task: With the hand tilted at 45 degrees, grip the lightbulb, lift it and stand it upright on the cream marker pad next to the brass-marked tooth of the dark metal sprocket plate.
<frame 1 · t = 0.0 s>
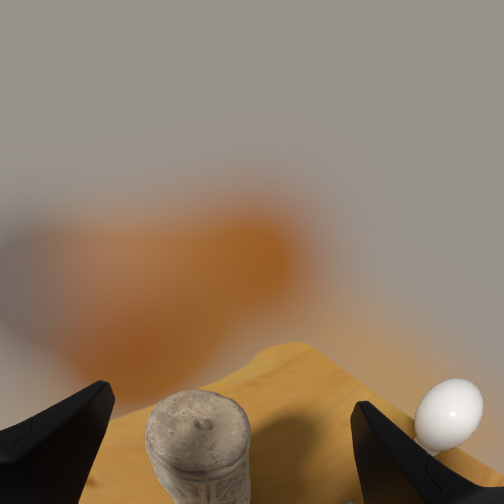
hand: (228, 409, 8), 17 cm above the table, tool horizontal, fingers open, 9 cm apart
carving: (212, 498, 16), on the table
lightbulb: (411, 464, 17), on the table
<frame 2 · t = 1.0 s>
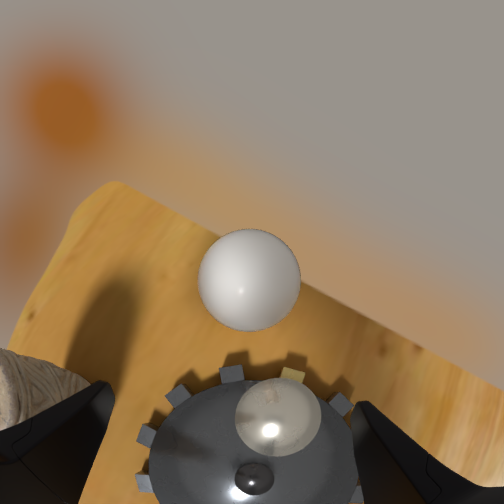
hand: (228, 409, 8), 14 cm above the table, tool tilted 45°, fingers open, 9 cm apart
carving: (80, 404, 19), on the table
sprocket plate: (254, 473, 17), on the table
lightbulb: (250, 316, 24), on the table
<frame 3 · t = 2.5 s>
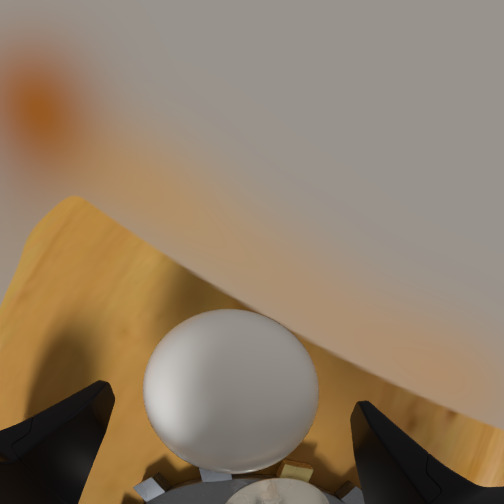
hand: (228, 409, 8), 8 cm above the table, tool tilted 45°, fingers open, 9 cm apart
lightbulb: (240, 392, 16), on the table
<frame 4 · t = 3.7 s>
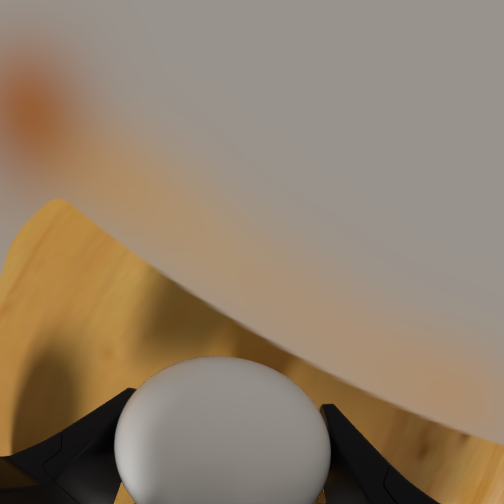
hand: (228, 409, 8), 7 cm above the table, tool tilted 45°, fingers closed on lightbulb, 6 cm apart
lightbulb: (236, 423, 14), on the table, touching gripper
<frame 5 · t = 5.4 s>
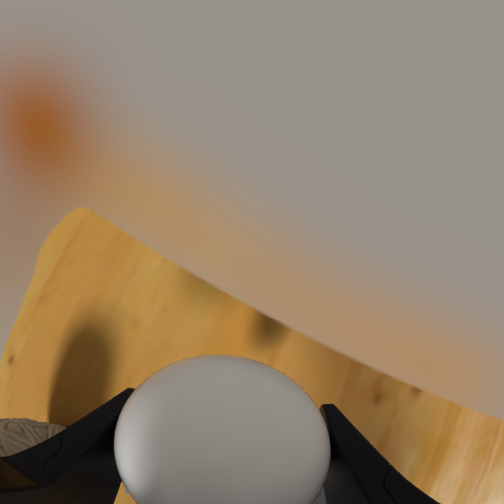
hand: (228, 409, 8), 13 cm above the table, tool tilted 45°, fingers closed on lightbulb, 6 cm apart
carving: (68, 452, 16), on the table
lightbulb: (236, 422, 14), point 6 cm above the table, touching gripper
when the fingers open (9 cm above the table, at t = 7.2 s): lightbulb stays where it is, resting on sprocket plate.
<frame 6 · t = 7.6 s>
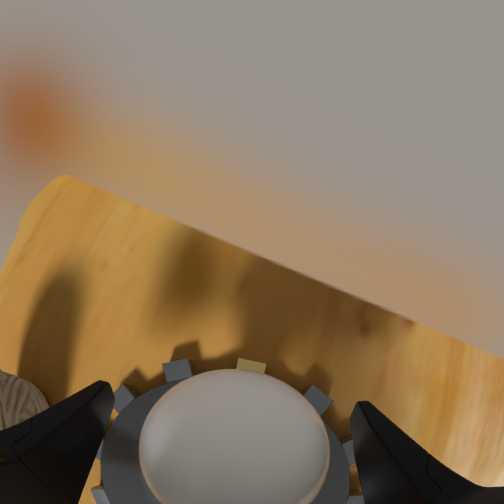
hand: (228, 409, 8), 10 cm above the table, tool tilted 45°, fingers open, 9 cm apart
carving: (35, 413, 15), on the table
sprocket plate: (221, 487, 13), on the table
lightbulb: (238, 425, 14), point 2 cm above the table, touching sprocket plate
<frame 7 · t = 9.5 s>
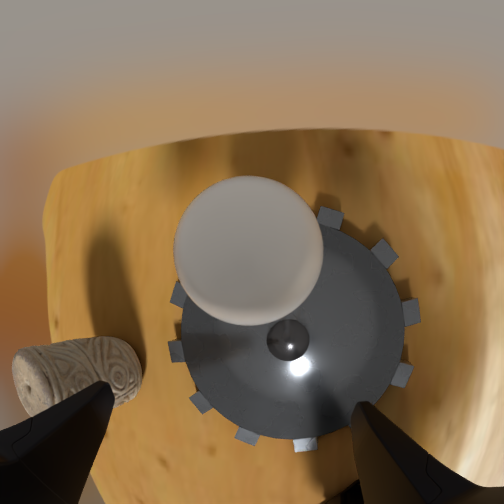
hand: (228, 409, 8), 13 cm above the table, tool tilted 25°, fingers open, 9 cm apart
carving: (123, 364, 24), on the table
sprocket plate: (290, 335, 20), on the table
lightbulb: (276, 264, 20), point 2 cm above the table, touching sprocket plate
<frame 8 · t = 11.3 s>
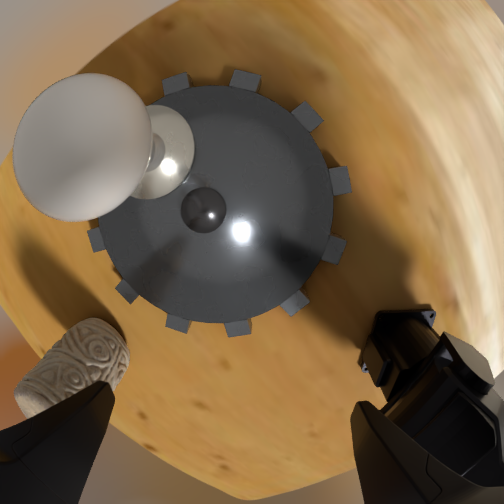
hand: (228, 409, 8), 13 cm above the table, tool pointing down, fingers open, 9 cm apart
carving: (105, 339, 24), on the table
sprocket plate: (208, 206, 19), on the table
lightbulb: (151, 152, 17), point 2 cm above the table, touching sprocket plate
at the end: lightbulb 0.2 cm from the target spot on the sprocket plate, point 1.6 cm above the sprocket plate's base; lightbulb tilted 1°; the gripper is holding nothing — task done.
